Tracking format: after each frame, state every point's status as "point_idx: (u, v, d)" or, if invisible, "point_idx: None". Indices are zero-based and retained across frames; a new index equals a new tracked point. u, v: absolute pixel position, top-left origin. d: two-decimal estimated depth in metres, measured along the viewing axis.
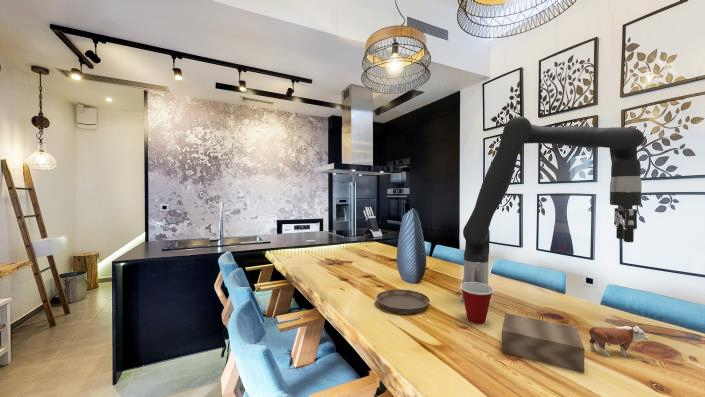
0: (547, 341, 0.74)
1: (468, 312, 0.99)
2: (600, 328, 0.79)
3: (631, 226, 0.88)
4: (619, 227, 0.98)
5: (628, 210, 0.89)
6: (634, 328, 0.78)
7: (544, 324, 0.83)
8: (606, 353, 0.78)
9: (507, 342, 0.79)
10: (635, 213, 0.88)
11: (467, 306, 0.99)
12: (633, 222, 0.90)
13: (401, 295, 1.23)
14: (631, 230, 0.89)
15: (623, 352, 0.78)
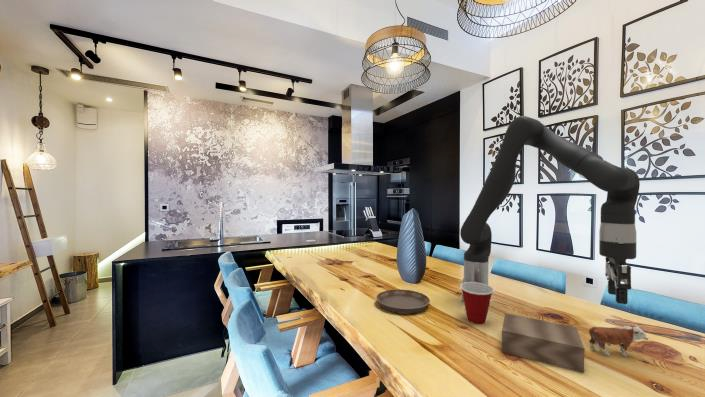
0: (547, 341, 0.74)
1: (468, 312, 0.99)
2: (600, 328, 0.80)
3: (624, 286, 0.73)
4: (611, 280, 0.83)
5: (620, 266, 0.74)
6: (634, 328, 0.78)
7: (544, 324, 0.83)
8: (606, 353, 0.78)
9: (507, 342, 0.79)
10: (629, 271, 0.73)
11: (467, 306, 0.99)
12: (627, 280, 0.75)
13: (401, 295, 1.23)
14: (624, 290, 0.74)
15: (623, 352, 0.78)
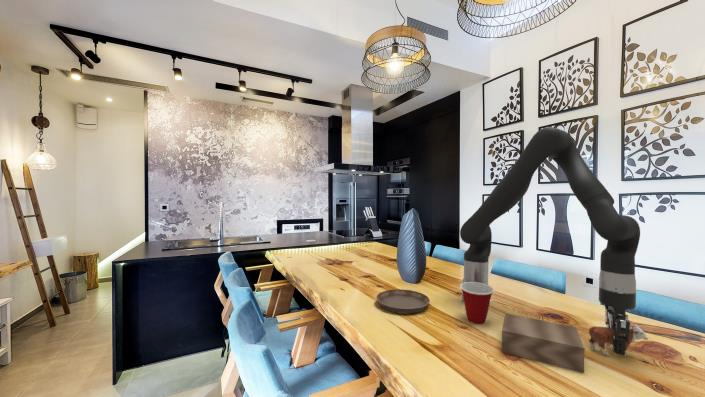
0: (547, 341, 0.74)
1: (468, 312, 0.99)
2: (600, 328, 0.80)
3: (622, 339, 0.75)
4: None
5: (620, 322, 0.74)
6: (634, 328, 0.78)
7: (544, 324, 0.83)
8: (606, 353, 0.78)
9: (507, 342, 0.79)
10: (628, 326, 0.73)
11: (467, 306, 0.99)
12: None
13: (401, 295, 1.23)
14: (622, 342, 0.76)
15: None
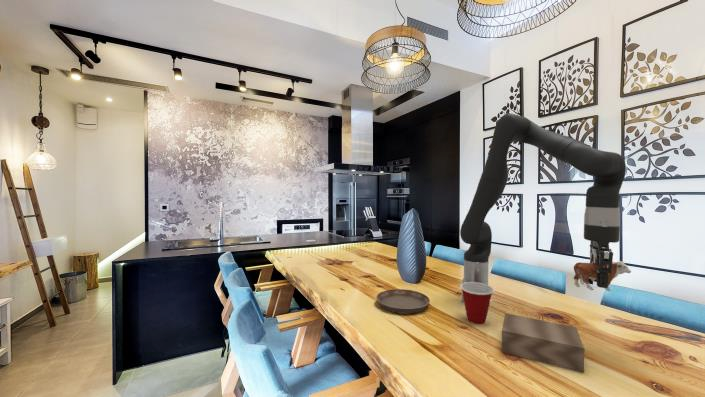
0: (547, 341, 0.74)
1: (468, 312, 0.99)
2: (584, 263, 0.80)
3: (605, 271, 0.75)
4: None
5: (603, 253, 0.75)
6: (617, 262, 0.79)
7: (544, 324, 0.83)
8: (589, 287, 0.79)
9: (507, 342, 0.79)
10: (611, 257, 0.74)
11: (467, 306, 0.99)
12: None
13: (401, 295, 1.23)
14: (605, 275, 0.77)
15: None
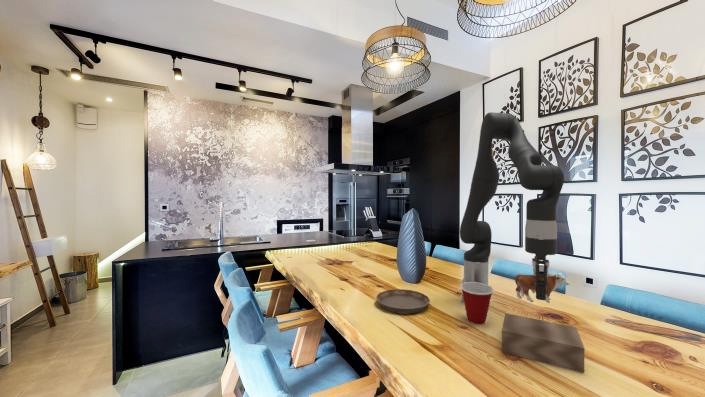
0: (547, 341, 0.74)
1: (468, 312, 0.99)
2: (524, 275, 0.81)
3: (541, 283, 0.76)
4: None
5: (538, 266, 0.76)
6: (556, 274, 0.80)
7: (544, 324, 0.83)
8: (529, 299, 0.80)
9: (507, 342, 0.79)
10: (545, 270, 0.75)
11: (467, 306, 0.99)
12: None
13: (401, 295, 1.23)
14: (542, 287, 0.78)
15: (546, 298, 0.80)
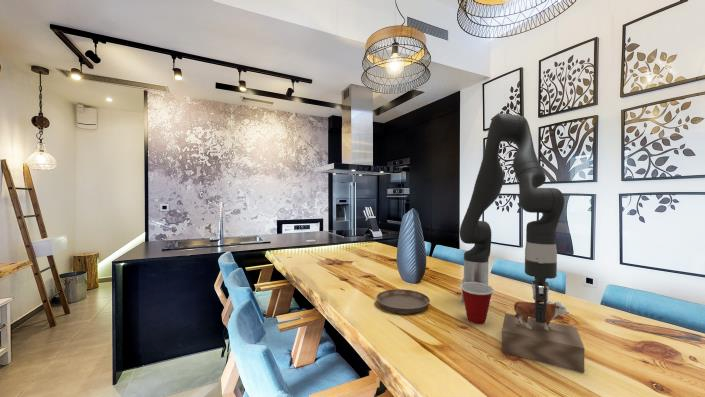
0: (547, 341, 0.74)
1: (468, 312, 0.99)
2: (524, 303, 0.81)
3: (541, 306, 0.75)
4: (537, 299, 0.84)
5: (538, 287, 0.76)
6: (556, 303, 0.80)
7: (544, 324, 0.83)
8: (528, 327, 0.80)
9: (507, 342, 0.79)
10: (545, 292, 0.75)
11: (467, 306, 0.99)
12: None
13: (401, 295, 1.23)
14: (542, 310, 0.76)
15: (545, 326, 0.80)
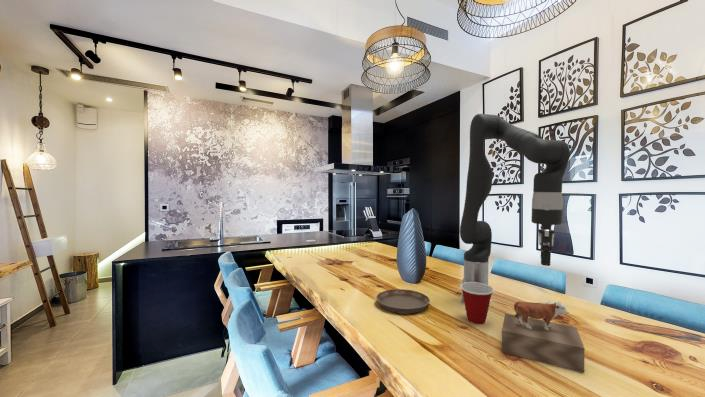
0: (547, 341, 0.74)
1: (468, 312, 0.99)
2: (523, 303, 0.81)
3: (546, 248, 0.80)
4: None
5: (544, 230, 0.80)
6: (556, 303, 0.80)
7: (544, 324, 0.83)
8: (528, 327, 0.80)
9: (507, 342, 0.79)
10: (550, 234, 0.79)
11: (467, 306, 0.99)
12: None
13: (401, 295, 1.23)
14: (547, 252, 0.81)
15: (545, 326, 0.80)
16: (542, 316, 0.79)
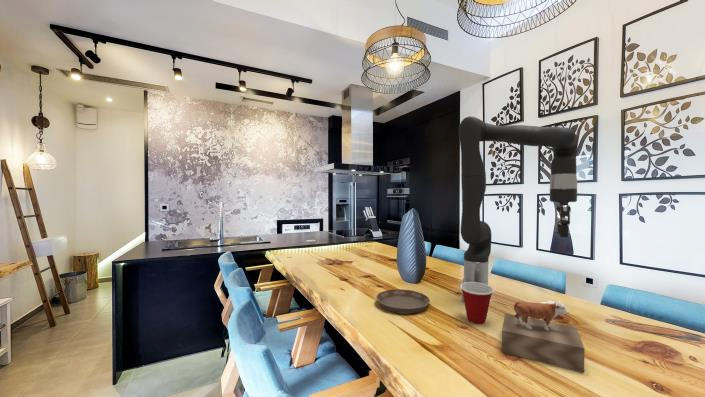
0: (547, 341, 0.74)
1: (468, 312, 0.99)
2: (524, 303, 0.81)
3: (565, 221, 0.92)
4: (559, 223, 1.02)
5: (562, 206, 0.92)
6: (556, 303, 0.80)
7: (544, 324, 0.83)
8: (528, 327, 0.80)
9: (507, 342, 0.79)
10: (568, 209, 0.92)
11: (467, 306, 0.99)
12: (568, 218, 0.94)
13: (401, 295, 1.23)
14: (565, 225, 0.93)
15: (545, 326, 0.80)
16: (542, 316, 0.79)
